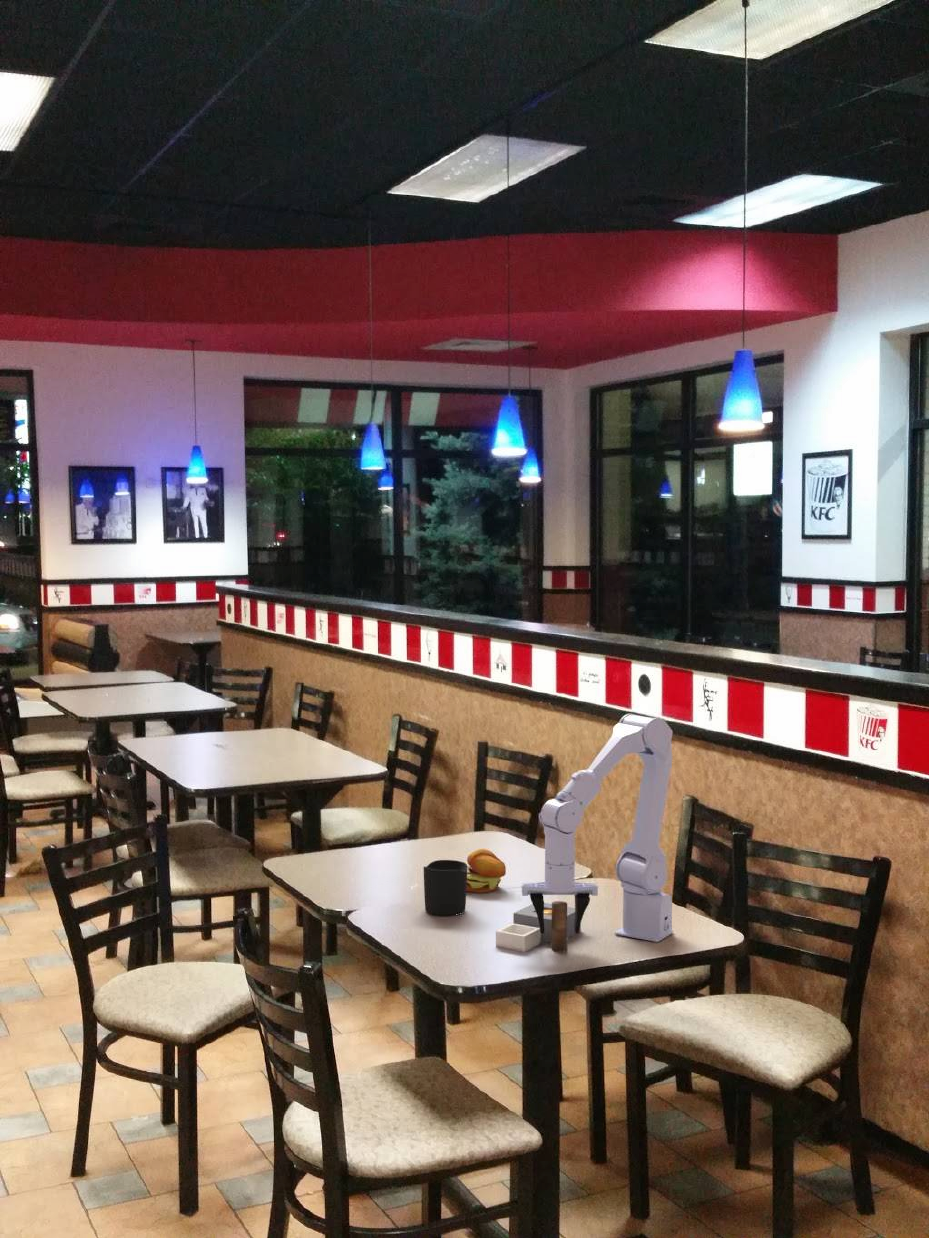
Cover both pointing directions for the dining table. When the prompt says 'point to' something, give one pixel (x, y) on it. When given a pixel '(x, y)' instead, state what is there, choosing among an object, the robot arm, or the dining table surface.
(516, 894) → the dining table surface
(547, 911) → the button
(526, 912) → the box
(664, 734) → the robot arm
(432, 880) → the pen holder
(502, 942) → the box
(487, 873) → the cheeseburger
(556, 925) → the brown wooden cylinder
